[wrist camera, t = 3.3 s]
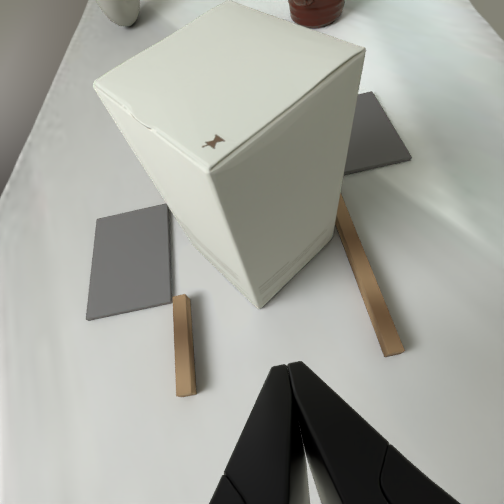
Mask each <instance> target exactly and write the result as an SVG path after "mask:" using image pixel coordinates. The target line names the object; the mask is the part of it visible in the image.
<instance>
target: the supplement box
mask: <svg viewBox="0 0 504 504" xmlns="http://www.w3.org/2000/svg"><path fill="white" fill-rule="evenodd" d="M365 52H366V49H365V48H364V47H361V46H357V45H354V44H351V43H349V42H346V41H343V40H340V39H337V38H334V37H331V36H329V35H326V34H323V33H320V32H317V31H314V30H311V29H309V28H306V27H303V26H300V25H297V24H294V23H291V22H289V21H286V20H283V19H280V18H277V17H274V16H272V15H269V14H266V13H263V12H260V11H258V10H255V9H252V8H249V7H246V6H244V5H241V4H238V3H236V2H233V1H231V0H227V1H225V2H224V3H222V4H220V5H218V6H216V7H214V8H212V9H211V10H209V11H207V12H206V13H204V14H203V15H201V16H199V17H198V18H196V19H195V20H193V21H192V22H190V23H189V24H187V25H186V26H184V27H183V28H181V29H179V30H178V31H176V32H175V33H173V34H171V35H170V36H168V37H167V38H165V39H163V40H161V41H160V42H158V43H156V44H154V45H153V46H151V47H149V48H148V49H146V50H144V51H142V52H141V53H139V54H137V55H135V56H134V57H132V58H130V59H129V60H127V61H125V62H124V63H122V64H120V65H119V66H117V67H115V68H114V69H112V70H110V71H109V72H107V73H106V74H104V75H103V76H101V77H100V78H98V79H97V80H95V81H94V84H93V87H94V89H95V91H96V92H97V94H98V96H99V97H100V99H101V101H102V102H103V104H104V106H105V107H106V109H107V110H108V112H109V114H110V115H111V117H112V118H113V120H114V121H115V123H116V125H117V126H118V128H119V129H120V131H121V133H122V134H123V136H124V137H125V139H126V140H127V142H128V144H129V145H130V147H131V148H132V150H133V152H134V153H135V155H136V156H137V158H138V159H139V161H140V163H141V164H142V166H143V167H144V169H145V170H146V172H147V174H148V175H149V177H150V178H151V180H152V182H153V183H154V185H155V186H156V188H157V189H158V191H159V193H160V194H161V196H162V197H163V199H164V200H165V202H166V204H167V205H168V207H169V208H170V210H171V212H172V213H173V215H174V216H175V218H176V219H177V221H178V223H179V224H180V226H181V227H182V229H183V231H184V232H185V234H186V235H187V237H188V239H189V240H190V242H191V243H192V245H193V246H194V247H195V248H196V249H197V250H198V251H199V252H200V253H201V254H202V255H203V256H204V257H205V258H206V259H207V260H208V261H209V262H210V263H211V264H212V265H213V266H214V267H215V268H216V269H217V270H218V271H219V272H220V273H221V274H222V275H223V276H224V277H225V278H227V279H228V280H229V281H230V282H231V283H232V284H233V285H234V286H235V287H236V288H237V289H238V290H239V291H240V292H241V293H242V294H243V295H244V296H245V297H246V298H247V299H248V300H249V301H250V302H251V303H252V304H253V305H254V306H255V307H256V308H258V309H261V308H262V307H263V306H264V305H265V304H266V303H267V302H268V301H269V300H270V299H271V298H272V297H273V296H274V295H275V294H276V293H277V292H278V291H279V290H280V289H281V288H282V287H283V286H284V285H285V284H286V283H288V282H289V281H290V280H291V279H292V278H293V277H294V276H295V275H296V274H297V273H298V272H299V271H300V270H301V269H302V268H303V267H304V266H305V265H306V264H307V263H308V262H309V261H310V260H311V259H312V258H313V257H314V256H315V255H316V254H317V253H318V252H319V251H320V250H321V249H322V248H323V247H324V246H325V245H326V244H327V243H328V242H329V241H330V240H331V239H332V237H333V232H334V226H335V220H336V215H337V209H338V203H339V198H340V192H341V186H342V180H343V175H344V169H345V163H346V158H347V152H348V146H349V141H350V135H351V129H352V124H353V118H354V113H355V107H356V101H357V96H358V90H359V85H360V79H361V74H362V69H363V64H364V58H365Z"/></svg>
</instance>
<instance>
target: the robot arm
mask: <svg viewBox="0 0 504 504" xmlns="http://www.w3.org/2000/svg"><path fill="white" fill-rule="evenodd" d="M287 368H288V369H287ZM299 425H300V426H299ZM300 430H301V431H300ZM301 435H302V436H301ZM302 439H303V440H302ZM303 444H304V445H303ZM304 448H305V451H304ZM305 453H306V457H307V460H308V463H309V467H310V470H311V473H312V476H313V479H314V482H315V485H316V488H317V491H318V494H319V497H320V500H321V503H322V504H461V503H459V502H458V501H457V500H455V499H454V498H453V497H452V496H450V495H449V494H448V493H447V492H445V491H444V490H443V489H442V488H440V487H439V486H438V485H437V484H435V483H434V482H433V481H432V480H430V479H429V478H428V477H427V476H426V475H425V474H424V473H422V472H421V471H420V470H419V469H418V468H417V467H416V466H414V465H413V464H412V463H411V462H410V461H409V460H408V459H406V458H405V457H404V456H403V455H402V454H401V453H400V452H399V451H398V450H397V449H396V448H395V447H394V446H393V445H391V444H390V445H389V442H388V441H387V440H386V439H385V438H384V437H383V436H382V435H381V434H379V433H378V432H377V431H376V430H375V429H374V428H373V427H372V426H371V425H370V424H369V423H368V422H367V421H366V420H364V419H363V418H362V417H361V416H360V415H359V414H358V413H357V412H356V411H355V410H354V409H353V408H352V407H350V406H349V405H348V404H347V403H346V402H345V401H344V400H343V399H342V398H341V397H340V396H339V395H338V394H337V393H335V392H334V391H333V390H332V389H331V388H330V387H329V386H328V385H327V384H326V383H325V382H324V381H323V380H321V379H320V378H319V377H318V376H317V375H316V374H315V373H314V372H313V371H312V370H311V369H310V368H309V367H308V366H306V365H305V364H304V363H303V362H302V361H298V362H293V363H289V364H288V365H287V366H286V365H285V364H283V365H278V366H273V367H272V368H271V369H270V372H269V374H268V376H267V378H266V380H265V383H264V385H263V387H262V389H261V391H260V394H259V396H258V398H257V400H256V402H255V405H254V407H253V409H252V411H251V413H250V416H249V418H248V420H247V422H246V424H245V427H244V429H243V431H242V433H241V435H240V438H239V440H238V442H237V444H236V446H235V449H234V451H233V453H232V455H231V457H230V460H229V462H228V464H227V466H226V468H225V471H224V475H222V477H221V479H220V481H219V483H218V486H217V488H216V490H215V492H214V494H213V496H212V499H211V501H210V503H209V504H310V497H309V486H308V475H307V465H306V457H305Z"/></svg>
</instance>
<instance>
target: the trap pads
mask: <svg viewBox="0 0 504 504" xmlns="http://www.w3.org/2000/svg"><path fill="white" fill-rule="evenodd" d="M409 160H411V155H410V153H409V152H408V150H407V148H406V147H405V145H404V143H403V142H402V140H401V138H400V137H399V135H398V133H397V132H396V130H395V128H394V127H393V125H392V124H391V122H390V120H389V119H388V117H387V115H386V114H385V112H384V110H383V109H382V107H381V105H380V104H379V102H378V100H377V99H376V97H375V95H374V94H373V92H372V91H371V92H367V93H363V94H358V96H357V101H356V107H355V113H354V118H353V124H352V129H351V135H350V141H349V146H348V152H347V158H346V163H345V169H344V175H346V174H351V173H355V172H359V171H364V170H368V169H373V168H377V167H382V166H386V165H391V164H395V163H400V162H404V161H409ZM170 303H172V289H171V262H170V235H169V208H168V205H167V204H162V205H157V206H153V207H148V208H144V209H139V210H135V211H131V212H126V213H122V214H117V215H113V216H108V217H104V218H99V219H97V221H96V230H95V240H94V249H93V258H92V267H91V276H90V285H89V295H88V304H87V313H86V320H88V321H90V320H95V319H99V318H104V317H109V316H114V315H118V314H123V313H128V312H132V311H137V310H142V309H147V308H151V307H156V306H161V305H166V304H170Z"/></svg>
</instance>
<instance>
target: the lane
mask: <svg viewBox="0 0 504 504" xmlns="http://www.w3.org/2000/svg"><path fill="white" fill-rule="evenodd" d="M335 225H336V227H337V230H338V233H339V235H340V238H341V241H342V244H343V246H344V249H345V252H346V254H347V257H348V260H349V262H350V265H351V268H352V271H353V273H354V276H355V279H356V281H357V284H358V287H359V289H360V292H361V295H362V298H363V300H364V303H365V306H366V308H367V311H368V314H369V316H370V319H371V322H372V325H373V327H374V330H375V333H376V335H377V338H378V341H379V343H380V346H381V349H382V352H383V354H384V357H388V356H393V355H398V354H401V353H402V352H404V351H405V350H404V347H403V345H402V342H401V340H400V338H399V335H398V333H397V330H396V328H395V325H394V323H393V320H392V318H391V315H390V313H389V310H388V308H387V306H386V303H385V301H384V298H383V296H382V293H381V291H380V288H379V286H378V283H377V281H376V279H375V276H374V274H373V271H372V269H371V266H370V264H369V261H368V259H367V256H366V254H365V251H364V249H363V247H362V244H361V242H360V239H359V237H358V234H357V232H356V229H355V227H354V224H353V222H352V219H351V217H350V215H349V212H348V210H347V207H346V205H345V202H344V200H343V197H342V195H341V192H340V198H339V203H338V209H337V215H336V220H335ZM173 321H174V347H175V373H176V396H178V397H186V396H191V395H196V394H197V392H196V378H195V363H194V349H193V334H192V319H191V305H190V299H189V298H188V297H187V296H186V294H183V295H179V296H174V297H173Z"/></svg>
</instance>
